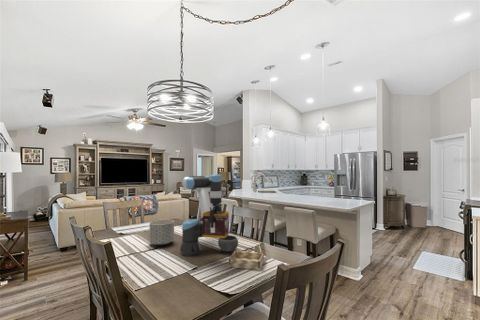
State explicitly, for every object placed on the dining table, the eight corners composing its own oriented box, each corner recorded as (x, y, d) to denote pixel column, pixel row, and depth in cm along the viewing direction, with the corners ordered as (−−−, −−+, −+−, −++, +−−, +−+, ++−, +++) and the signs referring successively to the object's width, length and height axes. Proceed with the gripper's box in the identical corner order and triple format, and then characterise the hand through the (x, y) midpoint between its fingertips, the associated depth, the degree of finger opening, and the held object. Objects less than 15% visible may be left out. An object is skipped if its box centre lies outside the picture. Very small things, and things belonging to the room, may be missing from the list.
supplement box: (224, 238, 156) (224, 213, 157) (202, 237, 160) (202, 213, 160) (229, 234, 166) (229, 211, 167) (208, 233, 170) (207, 210, 170)
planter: (144, 246, 192) (144, 223, 193) (160, 239, 210) (160, 218, 210) (163, 249, 185) (163, 225, 186) (178, 242, 203) (178, 220, 203)
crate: (228, 266, 153) (228, 258, 153) (235, 258, 167) (235, 250, 167) (259, 270, 148) (259, 261, 148) (263, 260, 162) (263, 253, 162)
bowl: (241, 249, 185) (241, 235, 186) (232, 255, 172) (232, 241, 172) (224, 246, 192) (224, 233, 192) (214, 252, 178) (214, 238, 178)
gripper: (214, 199, 152) (214, 235, 151) (226, 195, 174) (227, 226, 173) (203, 199, 154) (203, 234, 153) (217, 195, 176) (217, 226, 175)
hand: (216, 230), depth 163 cm, fingers closed on supplement box, 10 cm apart
